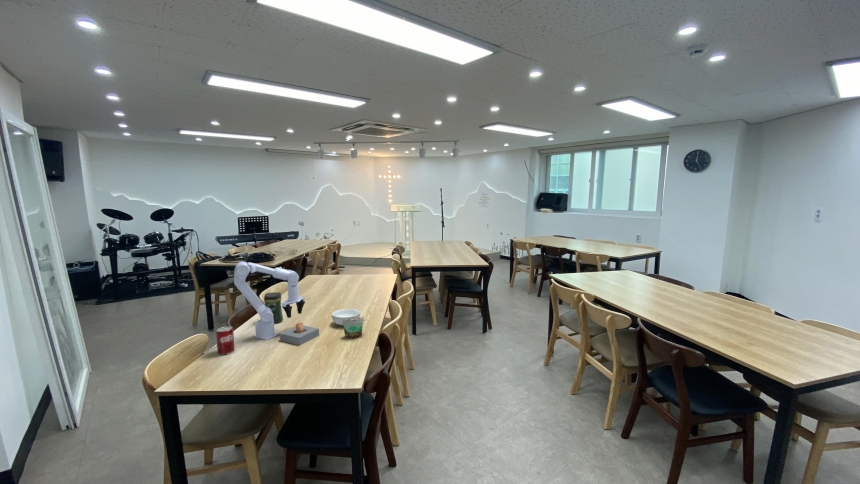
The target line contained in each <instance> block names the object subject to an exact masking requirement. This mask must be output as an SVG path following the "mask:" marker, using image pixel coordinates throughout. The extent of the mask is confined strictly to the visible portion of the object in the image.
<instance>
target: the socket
mask: <svg viewBox="0 0 860 484" xmlns="http://www.w3.org/2000/svg"><path fill="white" fill-rule="evenodd" d="M319 336H320V328H318V327H314V326H309V325H304V332H302V333H300V334H299V333H296V326H294V327H292V328H290V329H287V330H285V331H283V332H280V333H279V338H280V339H279V340H280V341H281V342H284V343H289V344H292V345H296V346H297V345H298V346H301V345H303V344H305V343H307V342H309V341H311V340H313V339H315V338H317V337H319Z"/></svg>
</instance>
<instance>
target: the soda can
mask: <svg viewBox="0 0 860 484" xmlns="http://www.w3.org/2000/svg"><path fill="white" fill-rule="evenodd" d="M234 334H235V333H234V328H233V326H222V327H219V328H217V329H216V331H215V335H216V337H215V339H216V350H217V351H216V353H217V354H218V355H220V356H226V355H231V354H232V353H233V352H234V351H235V349H236V348H235V335H234Z"/></svg>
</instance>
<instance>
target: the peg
mask: <svg viewBox="0 0 860 484" xmlns="http://www.w3.org/2000/svg"><path fill="white" fill-rule="evenodd" d="M304 326H305V324H304V323H303V322H297V323H295V327H296V333H299V334H300V333H302V332H304Z"/></svg>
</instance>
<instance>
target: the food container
mask: <svg viewBox="0 0 860 484" xmlns="http://www.w3.org/2000/svg"><path fill="white" fill-rule="evenodd" d="M364 318H365V317H364V316H362V317H360V318H353V319H349V320H342V323H343V326H342V327H343V332H344V337H345V338H348V339H356V338H359V337H361V336H363V324H364V323H363V322H364V321H365V319H364Z"/></svg>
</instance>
